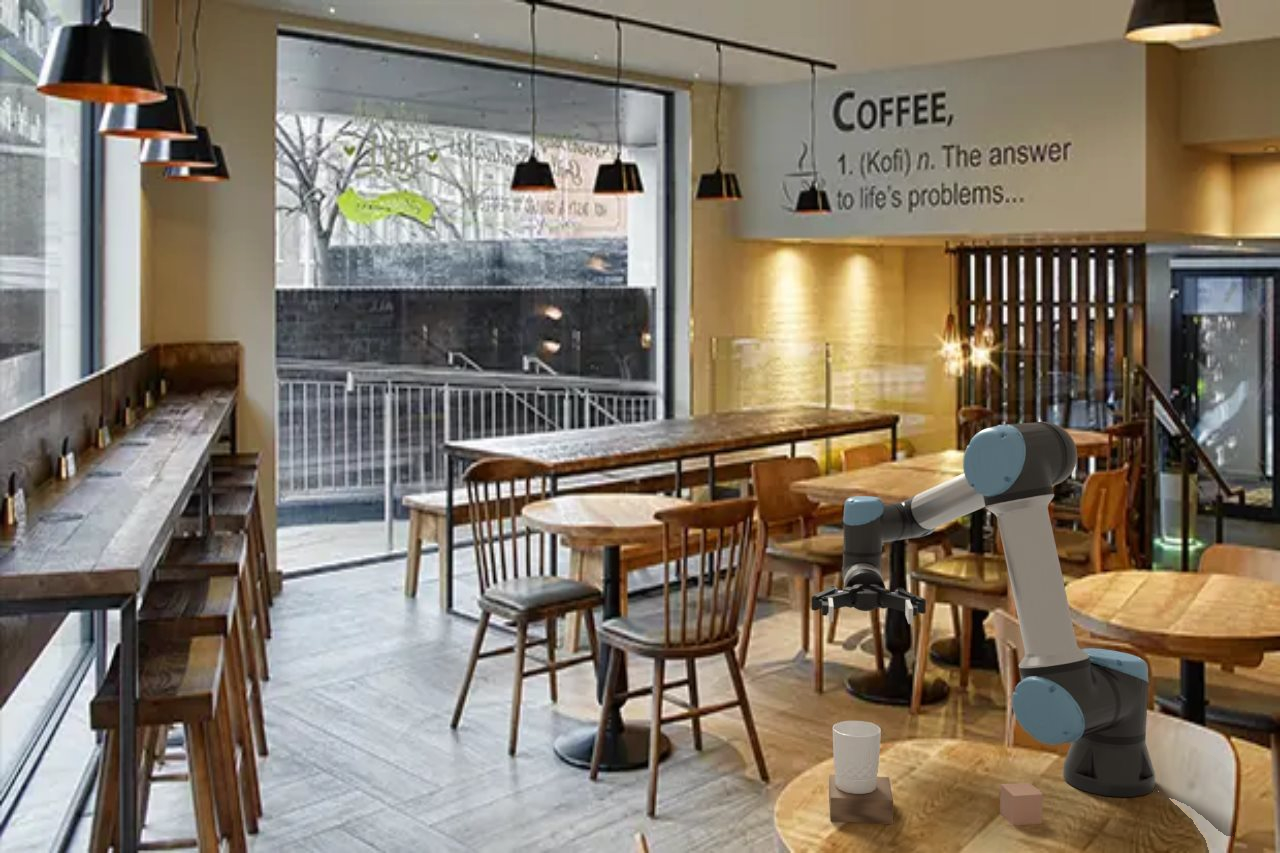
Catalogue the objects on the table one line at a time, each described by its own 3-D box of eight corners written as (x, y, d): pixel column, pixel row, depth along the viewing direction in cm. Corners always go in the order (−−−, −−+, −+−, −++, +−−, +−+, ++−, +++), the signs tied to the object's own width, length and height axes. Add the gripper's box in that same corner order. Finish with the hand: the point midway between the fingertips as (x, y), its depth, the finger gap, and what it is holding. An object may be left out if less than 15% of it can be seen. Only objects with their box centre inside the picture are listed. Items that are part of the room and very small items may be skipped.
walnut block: (888, 800, 216) (888, 777, 216) (892, 824, 206) (893, 800, 206) (828, 797, 217) (829, 774, 217) (830, 821, 207) (830, 797, 207)
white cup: (879, 797, 207) (880, 738, 206) (830, 793, 208) (831, 734, 207) (880, 779, 215) (881, 722, 213) (833, 776, 216) (834, 719, 215)
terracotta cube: (1028, 811, 211) (1029, 782, 211) (1042, 823, 206) (1042, 794, 206) (999, 813, 211) (1000, 784, 210) (1012, 825, 206) (1013, 795, 205)
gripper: (931, 608, 241) (943, 638, 220) (798, 605, 244) (798, 634, 223) (931, 569, 240) (944, 595, 219) (798, 566, 243) (798, 592, 222)
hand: (870, 615), depth 221 cm, fingers open, 13 cm apart
